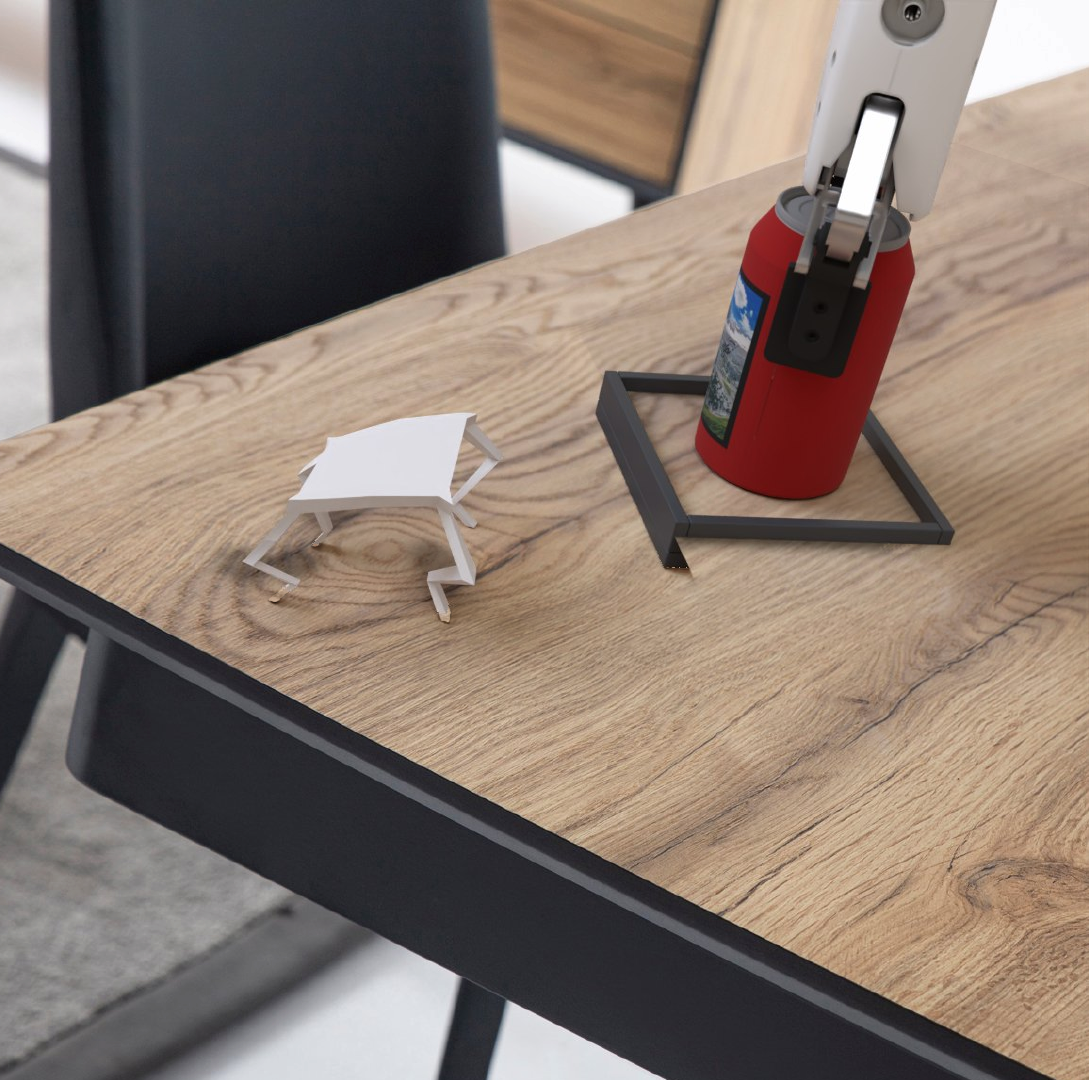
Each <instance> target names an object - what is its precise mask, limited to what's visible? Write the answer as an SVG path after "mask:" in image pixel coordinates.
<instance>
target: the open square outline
mask: <svg viewBox="0 0 1089 1080" xmlns="http://www.w3.org/2000/svg"><path fill="white" fill-rule="evenodd" d="M710 377H711V375H702V374H701V375H699V374H698V375H697V374H681V373H662V372H661V373H660V372H646V371H645V372H644V371H643V372H641V371H624V370H623V371H622V370H618V371H617V370H605V371H604V373H603V378H602V381H601V382H602V383H601V385H600V386H601V387H600V391H599V397H598V400H597V405H596V409H595V412H594V413H595V416H596V418H597V421H598V422H599V423H598V424H599V425H600V427H601V429H602V433H603V434H604V436H605V438H606V441H607V443H608V445H609V447H610V450H611V452H612V455H613V457H614V459H615V461H616V463H617V466H618V468H619V470H620V472H621V475H622V477H623V480H624V481H625V484H626V486H627V489H628V491H629V493H630V496H631V498H632V500H633V502H634V504H635V506H636V508H637V511H638V514H639V515H640V518H641V520H642V522H643V525H644V528H645V529H646V531H647V534H648V535H649V538H650V541H651V543H652V545H653V547H654V550H655V552H656V551H657V552H656V553H657V556H658V555H659V556H658V559H659V560H661V561H660V563H661V562H662V563H661V565H662V564H663V565H662V567H663V566H664V567H669V568H668V569H673V568H672V567H675V568H674V569H679V567H680V568H686V567H687V568H690V566H689V564H688V562H687V560H686V557H685V555H684V552H683V551H682V548H681V547H680V545H679V542H678V540H677V538H697V539H698V538H700V539H701V538H702V539H730V540H732V539H733V540H764V541H766V540H767V541H797V542H799V541H800V542H829V543H830V542H833V543H859V544H860V543H861V544H862V543H863V544H893V545H894V544H899V545H930V546H937V545H938V546H951V543H952V541H953V538H954V537H955V534H956V530H955V529H954V527H953V526H952V523H951V522H950V521H949V519H948V518H947V517H946V515H945V514H944V512H943V511H942V510H941V509H940V506H939V505H938V503H937V502H936V501H935V499H934V498H933V497H932V496H931V494H930V492H929V491H928V489H927V488H926V486H925V485H924V484H923V483H922V481H921V480H920V478H919V477H918V475H917V473H916V472H915V471H914V470H913V468H912V467H911V465H910V463H909V462H908V461H907V459H906V458H905V457H904V455H903V454H902V452H901V450H900V449H899V448H898V446H897V445H896V443H895V442H894V441H893V439H892V437H891V436H890V435H889V433H888V432H887V431H886V429H885V428H884V426H883V425H882V424H881V422H880V421H879V420H878V418H877V416H876V415H875V414H874V412H873V410H872V409H871V408H870V409H869V412H868V414H867V417H866V420H865V423H864V426H863V429H862V432H861V434H862V435H863V437H864V438H865V440H866V441H867V443H868V444H869V446H870V447H871V449H872V450H873V452H874V453H875V455H876V456H877V458H878V459H879V461H880V462H881V463H882V465H883V466H884V468H885V470H886V471H887V472H888V474H889V475H890V477H891V478H892V480H893V482H894V484H896V486H897V487H898V489H899V490H900V492H901V493H902V495H903V496H904V498H905V499H906V501H907V503H908V504H909V505H910V507H911V508H912V510H913V511H914V512H915V514H916V515H917V517H918V519H919V520H920V521H919V522H916V521H893V520H891V521H889V520H863V519H860V520H858V519H829V518H828V519H826V518H802V517H801V518H800V517H799V518H798V517H771V516H769V517H768V516H766V517H765V516H743V515H742V516H739V515H709V514H707V515H706V514H687V513H686V512H685V509H684V507H683V504H682V503H681V502H680V499H679V497H678V495H677V492H676V490H675V489H674V485H672V482H671V480H670V478H669V477H668V474H667V472H666V470H665V467H664V466H663V464H662V461H661V459H660V457H659V456H658V453H657V451H656V449H655V447H654V445H653V443H652V441H651V438H650V437H649V435H648V432H647V431H646V429H645V426H644V424H643V422H642V420H641V418H640V416H639V414H638V412H637V409H636V408H635V405H634V404H633V401H632V399H631V397H630V395H629V393H628V392H631V393H632V392H634V393H649V394H650V393H652V394H653V393H654V394H673V395H693V396H706V393H707V389H708V385H709V381H710ZM664 567H663V568H664Z"/></svg>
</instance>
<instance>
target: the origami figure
mask: <svg viewBox="0 0 1089 1080" xmlns="http://www.w3.org/2000/svg"><path fill="white" fill-rule="evenodd" d="M477 418H478V413H474V412H473V413H472V412H465V411H464V412H462V411H461V412H452V413H442V414H432V415H423V416H414V417H404V418H397V419H394V420H391V421H388V422H383V423H379V424H375V425H373V426H369V427H366V428H363V429H359V430H357V431H353V432H350V433H347V434H344V435H340V436H332V437H329V436H327V439H326V444H325V449H324V450H323V451H322V452H321V453H320V454H319V455H317V456H316V457H315V458H313V459H312V460H311V461H310V462H309V463H307V465H305V466H304V467H303V468H302V469H301V470H300V472H299V473H298V474H297V478H298V479H299V482H300V484H301V488H300V490H299V492H297V493H296V494H295V495H293V496H291V497H290V498H289V499H287V503H286V510H285V514H284V515H283V516H282V518H281V519H280V520H278V522H277V524H275V525H274V527H273V528H272V529H271V530H270V531H269V532H268V533H267V534H266V536H265V537H264V538H263V539H262V540H261V541H260V542H259V543H258V544H257V545H256V546H255V547H254V548H253V549H252V551H250V553H249V554H248V555H246V557H245V558H244V559H242V563H244V564H247V565H249V566H250V567H252V568H254V569H257V570H259V571H260V572H263V573H265V574H267V575H269V576H271V577H273V578H275V579H278V580H279V581H281V582H283V583H286V585H285V586H286V588H284V589H287V590H290V592H292V591H293V590H294V589H295V588H297V587H298V586H299V585H300V582H301V579H299V578H297V577H295V576H293V575H291V574H288V573H286V572H285V571H282V570H280V569H278V568H275V567H274V566H272V565H269V564H267V563H265V562H263V561H262V560H261V559H262V557H263V556H264V555H266V554H267V553H268V552H269V550H271V549H272V547H273V546H275V544H276V543H278V541H279V540H280V539H281V538H283V536H285V534H286V533H287V532H288V531H289V530H290V529H291V528H292V527H293V526H294V525H295V523H296V522H297V521H298V520H299V519H300V518H301V517H302V516H303V514H310V513H313V514H314V516H315V518H316V520H317V522H318V525H319V528H320V529H321V532H322V533H321V534H320V535H319V536H318V537H317V538H316V539H315V540H314V541H315V542H314V541H313V542H314V543H313V542H312V544H319V543H321V544H322V543H323V541H324V540H325V539H326V537H328V535H329V534H330V532H331V531H332V530H333V528H334V526H333V523H332V520H331V516H330V514H329V512H338V511H339V512H340V511H349V510H351V511H352V510H359V509H373V508H374V509H377V508H378V509H379V508H380V509H381V508H414V507H417V508H420V507H421V508H422V507H436V509H437V512H438V515H439V518H440V520H441V524H442V526H443V530H444V532H445V535H446V538H447V541H448V544H449V547H450V550H451V553H452V555H453V558H454V561H455V564H456V565H452V566H447V567H442V568H437V569H434V570H430V571H428V572H427V578H426V583H427V586H428V589H429V592H430V595H431V598H432V602H433V604H434V607H435V609H436V612H440V613H445V614H442V615H446V614H447V612H448V611H447V610H448V609H447V608H448V607H449V606H450V604H449V601H448V599H447V596H446V594H445V592H444V589H443V586H442V585H441V584H445V585H446V584H447V585H461V586H462V585H463V586H475V585H476V577H477V567H476V564H475V562H474V560H473V558H472V555H471V552H470V551H469V548H468V546H467V544H466V541H465V538H464V536H463V535H462V532H461V529H460V527H459V525H458V522H457V520H456V517H457V518H458V519H459V520H460V522H462V524H463V525H464V526H465V527H469V528H473V529H475V528H476V526H477V524H478V521H477V520H476V519H475V518H474V517H473V516H472V515H471V514H470V513H469V512H468V511H467V510H466V508H465V507H464V506H463V505H462V504H461V503H460V501H461V500H462V499H463V498H464V497H465V496H466V495H467V494H468V493H469V492H470V491H471V490H472V489H473V488H474V487H475V486H476V485H477V484H478V483H479V482H480V481H481V480H482V479H483V478H484V477H485V476H486V475H487V474H488V473H489V472H490V471H491V470H493V468H495V466H497V464H499V463H500V461H502V459H504V458H505V455H504V454H503V453H502V451H500V449H499V448H498V447H497V446H496V445H495V443H494V442H493V441H492V439H490V438H489V436H488V435H487V434H486V433H485V432H484V431H483V429H481V428H480V426H479V425H478V424H477V423H476V421H477ZM463 439H465V440H466V441H467V442H468V443H470V444H471V445H472V446H473V447H475V448H476V449H478V451H480V452H481V453H482V454H484V455H485V456H486V457H487V458H486V459H485V460H484V461H483V463H482V464H481V465H480V466H479V467H478V468H477V469H476V470H475V471H474V473H473V474H472V475H471V476H470V477H469V478H468V479H467V480H466V481H465V483H464V484H463V485H462V486H461V487H460V488H459V490H458V491H457V492H456V493H455V494H454V495H453V496H452V493H451V490H450V488H451V485H452V482H453V481H452V480H453V477H454V472H455V469H456V465H457V460H458V456H459V453H460V448H461V446H462V441H463ZM454 514H455V515H454ZM455 516H456V517H455ZM448 605H449V606H448Z"/></svg>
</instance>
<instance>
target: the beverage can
mask: <svg viewBox="0 0 1089 1080" xmlns="http://www.w3.org/2000/svg"><path fill="white" fill-rule="evenodd" d="M829 188H830V189H834V190H838V191H841V189H842V188H838V187H832V186H831V185H830V186H829ZM817 190H818V188H816V191H817ZM816 191H815V193H816ZM814 196H815V194H814ZM876 200H879V199H876ZM879 201H881V200H879ZM813 205H814V197H812V196H811V195H810V194H809V193H808V192H807V191H806V189H805V187H804V186H803V184H802V185H795V186H792V187H789V188H786V189H784V190H782V191H781V192H780V193H779V195H778V197H777V199H776V203H774V204H773V205H772V206H771V208H769V209H768V211H766V213H765V214H764V215H763V216H762V217H761V218H760V219H759V220H758V221H757V222H756V223H755V225H754V226H753V227H752V228H751V230H750V233H749V236H748V239H747V243H746V247H745V250H744V253H743V256H742V261H741V264H740V268H739V270H738V275H737V278H736V281H735V286H734V289H733V292H732V296H731V299H730V303H729V308H728V311H727V314H726V317H725V321H724V325H723V328H722V333H721V337H720V340H719V344H718V347H717V351H716V355H715V358H714V363H713V367H712V370H711V374H710V376H711V377H710V381H709V385H708V389H707V393H706V395H704V396H705V397H704V399H703V400H704V401H703V405H702V408H701V412H700V415H699V420H698V423H697V428H696V432H695V436H694V445H695V449H696V451H697V453H698V455H699V457H700V459H702V461H703V462H704V464H705V465H707V467H709V468H710V469H711V470H712V471H713V472H714V473H715V474H717V475H719V476H720V477H721V478H722V479H723V480H726V481H727V482H729V483H731V484H733V485H735V486H737V487H739V488H742V489H744V490H747V491H749V492H753V493H756V494H759V495H762V496H763V495H764V496H768V497H773V498H779V499H787V500H788V499H792V500H794V499H795V500H799V499H810V498H815V497H821V496H824V495H826V494H829V493H831V492H833V491H834V490H836V489H837V488H838V487H839V486H841V485H842V483H843V482H844V480H845V478H846V476H847V473H848V470H849V467H850V465H851V462H852V459H853V456H854V454H855V451H856V448H857V445H858V443H859V439H860V437H861V434H862V429H863V426H864V423H865V420H866V417H867V414H868V412H869V409H871V406H872V403H873V400H874V398H875V394H876V392H877V390H878V389H877V388H878V386H879V384H880V383H879V382H880V380H881V376H882V374H883V372H884V368H885V366H886V363H887V360H888V357H889V353H890V350H891V348H892V344H893V342H894V339H895V336H896V333H897V330H898V327H899V324H900V321H901V319H902V315H903V311H904V309H905V306H906V303H907V300H908V297H909V293H910V291H911V288H912V285H913V282H914V279H915V275H916V265H915V260H914V255H913V249H912V244H911V239H910V235H911V232H912V225H911V223H910V220H909V219H908V218H907V216H905V214H903V212H900V211H897V208H896V207H894V206H892V205H891V211H890V214H889V216H888V217H887V221H886V224H885V227H884V231H883V234H882V237H881V241H880V244H879V247H878V251H877V254H876V257H875V261H874V264H873V267H872V271H871V274H870V277H869V280H868V281H871V282H873V283H872V288H871V291H870V294H869V297H868V300H867V303H866V306H865V309H864V312H863V315H862V318H861V321H860V324H859V327H858V330H857V333H856V336H855V339H854V343H853V346H852V349H851V352H850V355H849V358H848V361H847V364H846V367H845V370H844V372H843V374H842V375H841V376H840V377H838V378H830V377H826V376H822V375H818V374H814V373H810V372H806V371H803V370H799V369H795V368H791V367H787V366H783V365H779V364H776V363H772V362H769V361H767V360H766V359H765V357H764V354H763V353H764V348H765V345H766V341H767V338H768V334H769V331H770V328H771V324H772V321H773V317H774V314H775V310H776V307H777V304H778V300H779V297H780V293H781V290H782V287H783V283H784V280H785V276H786V273H787V270H788V266H789V263H790V261H791V262H795V263H797V259H798V256H799V253H800V249H801V246H802V242H803V239H804V235H805V232H806V229H807V225H808V222H809V218H810V215H811V211H812V208H813ZM834 212H835V210H832V209H828V208H827V210H826V213H825V217H824V220H823V224H822V225H824V224H825V221H826V222H830V223H831V222H832V219H833V215H834ZM870 221H871V219H870ZM870 221H869V224H870ZM869 224H868V227H867V230H866V231H868V228H869ZM821 228H822V227H821ZM815 248H816V247H815ZM814 253H815V251H814ZM813 257H814V254H813ZM810 266H811V264H810Z"/></svg>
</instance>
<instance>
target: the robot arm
mask: <svg viewBox="0 0 1089 1080" xmlns="http://www.w3.org/2000/svg"><path fill="white" fill-rule="evenodd" d="M997 3H998V0H839V2H838V6H837V10H836V13H835V18H834V21H833V25H832V28H831V34H830V36H829V37H830V38H829V42H828V46H827V50H826V54H825V59H824V63H823V67H822V72H821V74H820V75H821V76H820V79H819V85H818V89H817V95H816V99H815V105H814V110H813V116H812V121H811V127H810V133H809V137H808V143H807V148H806V155H805V162H804V168H803V175H802V181H801V184H802V185H803V186H804V187H805V189H806V191H807V192H808V193H809V194H810V195H811V196H812V197H814V205H813V208H812V211H811V215H810V218H809V222H808V225H807V229H806V232H805V235H804V239H803V242H802V246H801V249H800V253H799V256H798V259H797V263H795V262H791V261H790V263H789V266H788V270H787V273H786V276H785V280H784V283H783V287H782V290H781V293H780V297H779V300H778V304H777V307H776V310H775V314H774V317H773V321H772V324H771V328H770V331H769V334H768V338H767V341H766V345H765V348H764V353H763V354H764V357H765V359H766V360H767V361H769V362H772V363H776V364H779V365H783V366H787V367H791V368H795V369H799V370H803V371H806V372H810V373H814V374H818V375H822V376H826V377H830V378H838V377H840V376H841V375H842V374H843V372H844V370H845V367H846V364H847V361H848V358H849V355H850V352H851V349H852V346H853V343H854V339H855V336H856V333H857V330H858V327H859V324H860V321H861V318H862V315H863V312H864V309H865V306H866V303H867V300H868V297H869V294H870V291H871V288H872V283H873V282H871V281H868V280H869V277H870V274H871V271H872V267H873V264H874V261H875V257H876V254H877V251H878V247H879V244H880V241H881V237H882V234H883V231H884V227H885V224H886V221H887V217H888V216H889V214H890V211H891V206H892V204H893V200H894V197H895V202H896V209H897V211H900V212H901V213H904V214H905V213H906V214H908V215H909V219H908V221H909V222H913V223H917V222H920V221H922V220H923V219H925V218H926V217H928V216H929V215H930V214H931V210H932V207H933V204H934V201H935V198H936V194H937V191H938V188H939V185H940V181H941V178H942V175H943V171H944V169H945V165H946V162H947V159H948V156H949V153H950V150H951V146H952V144H953V140H954V137H955V134H956V131H957V128H958V124H959V122H960V119H961V116H962V112H963V109H964V107H965V103H966V100H967V98H968V95H969V92H970V89H971V85H972V83H973V80H974V77H975V73H976V70H977V67H978V64H979V62H980V58H981V55H982V51H983V48H984V46H985V43H986V39H987V37H988V32H989V29H990V27H991V23H992V20H993V16H994V13H995V10H996V7H997ZM829 186H832V187H838V188H842V189H841V191H838V190H834V189H830V188H829ZM816 188H818V190H817V191H816ZM815 191H816V193H815ZM814 194H815V196H814ZM876 199H879V200H881V201H879V200H876ZM827 208H828V209H832V210H835V212H834V215H833V219H832V222H831V223H830V222H826V221H825V224H824V225H822V224H823V220H824V217H825V213H826V210H827ZM870 219H871V221H870ZM869 221H870V224H869ZM868 224H869V228H868V231H866V230H867V227H868ZM821 227H822V228H821ZM815 247H816V248H815ZM814 251H815V253H814ZM813 254H814V257H813ZM810 264H811V266H810Z"/></svg>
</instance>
